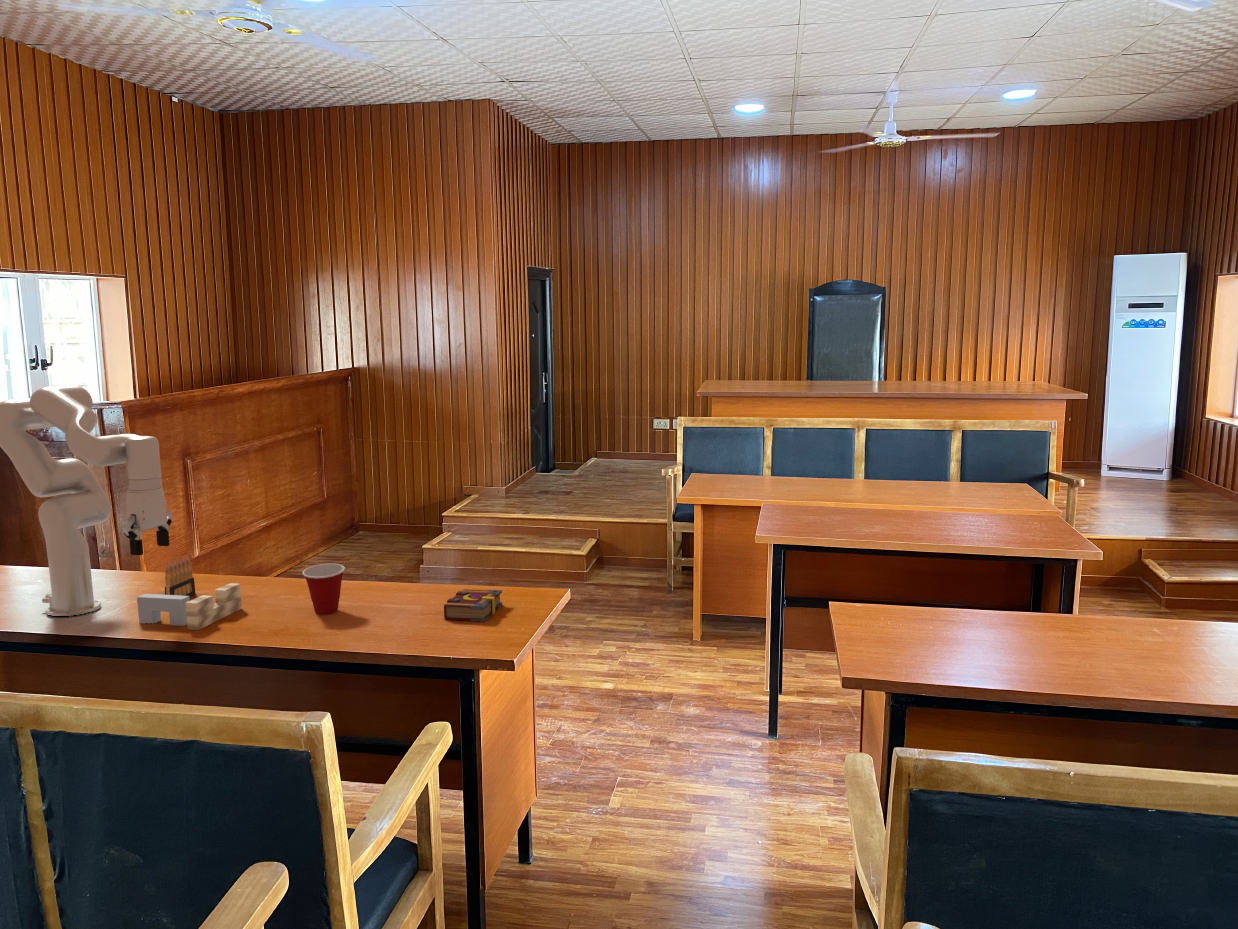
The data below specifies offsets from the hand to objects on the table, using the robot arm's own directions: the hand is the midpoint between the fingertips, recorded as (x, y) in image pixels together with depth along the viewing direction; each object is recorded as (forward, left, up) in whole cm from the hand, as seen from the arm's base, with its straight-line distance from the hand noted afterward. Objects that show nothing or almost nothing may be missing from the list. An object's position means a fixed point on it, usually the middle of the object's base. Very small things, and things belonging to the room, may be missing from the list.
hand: (150, 550), depth 224 cm
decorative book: (+79, +21, -20) cm, 84 cm away
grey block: (+3, -1, -19) cm, 19 cm away
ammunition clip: (-7, +18, -19) cm, 28 cm away
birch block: (+14, +4, -19) cm, 24 cm away
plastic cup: (+40, +14, -19) cm, 47 cm away
